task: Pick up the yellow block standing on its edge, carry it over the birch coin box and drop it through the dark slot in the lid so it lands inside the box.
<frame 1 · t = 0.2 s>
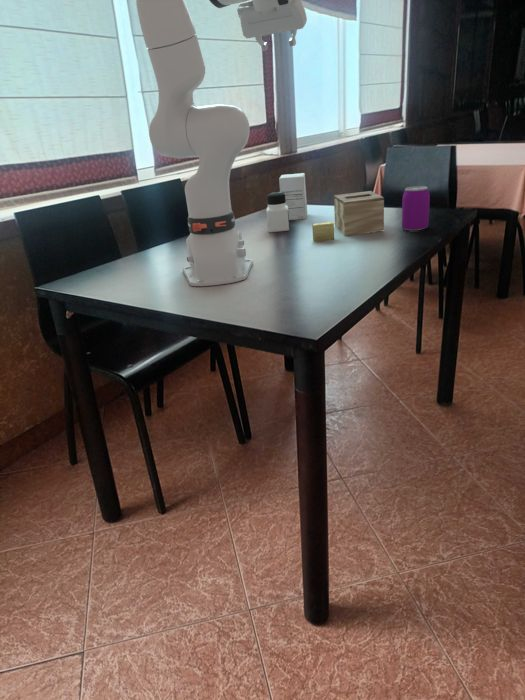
hand: (279, 47, 154), 54 cm above the table, tool tilted 30°, fingers open, 8 cm apart
yellow block: (323, 240, 148), on the table
supplement box: (295, 218, 183), on the table
medicine bottle: (279, 230, 168), on the table
beverage can: (415, 229, 149), on the table
coin box: (358, 228, 157), on the table
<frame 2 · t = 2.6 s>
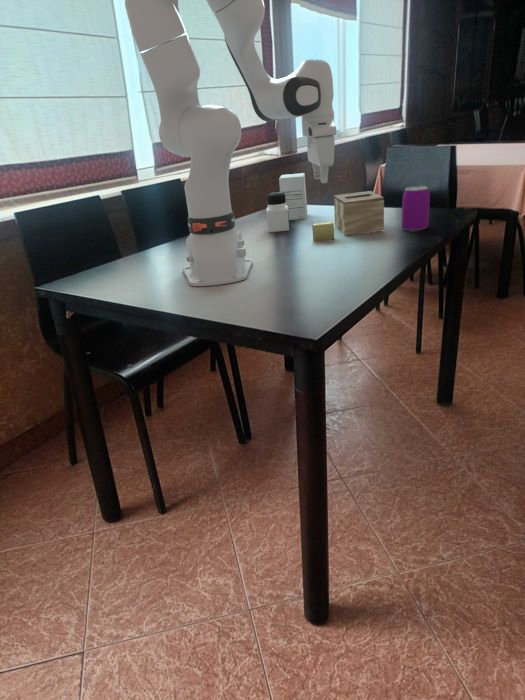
hand: (320, 180, 141), 17 cm above the table, tool pointing down, fingers open, 8 cm apart
nothing on the table moved.
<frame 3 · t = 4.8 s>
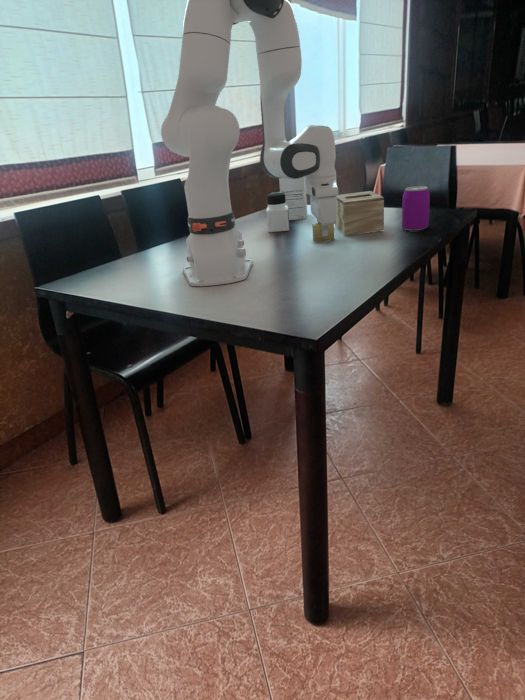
hand: (323, 234, 147), 2 cm above the table, tool pointing down, fingers closed on yellow block, 2 cm apart
yellow block: (323, 240, 148), on the table, touching gripper
everything else where it was.
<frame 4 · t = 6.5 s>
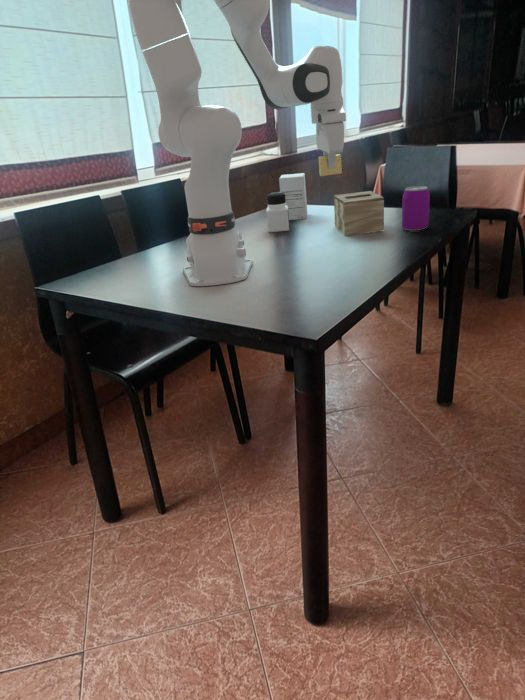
hand: (330, 167, 141), 20 cm above the table, tool pointing down, fingers closed on yellow block, 2 cm apart
yellow block: (330, 174, 142), point 18 cm above the table, touching gripper
everything else where it was.
when the fingers open (14 cm above the table, at t = 8.1 s): yellow block drops 12 cm, resting in coin box.
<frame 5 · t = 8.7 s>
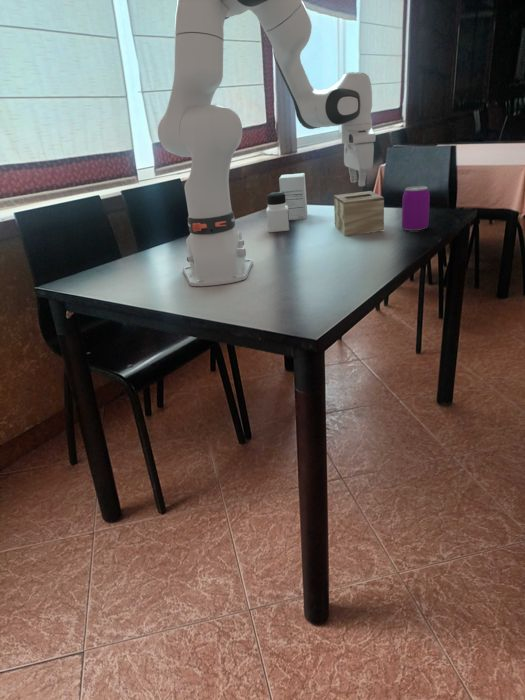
hand: (357, 184, 151), 14 cm above the table, tool pointing down, fingers open, 8 cm apart
yellow block: (358, 229, 156), resting in coin box
everything else where it was.
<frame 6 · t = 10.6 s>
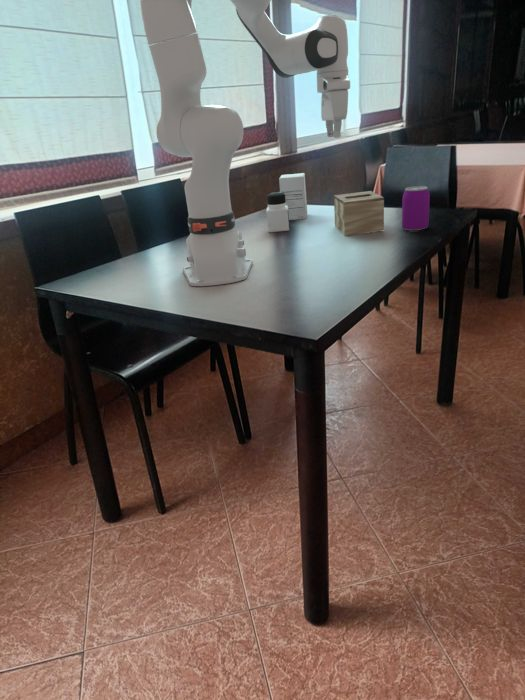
hand: (333, 137, 146), 27 cm above the table, tool pointing down, fingers open, 8 cm apart
nothing on the table moved.
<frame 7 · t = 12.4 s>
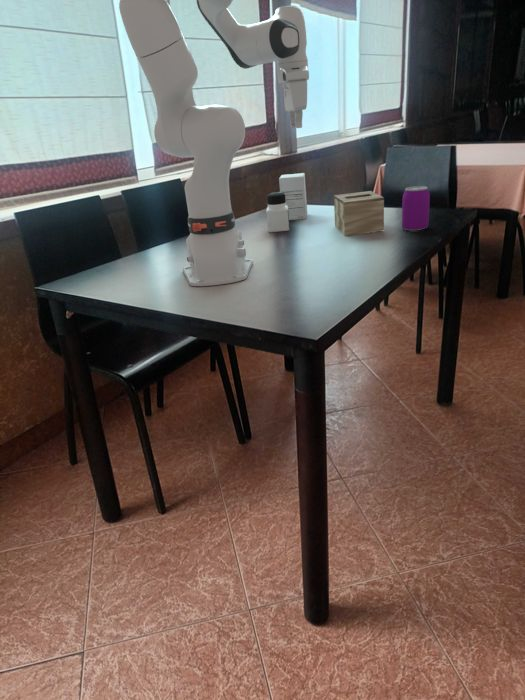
hand: (296, 127, 147), 31 cm above the table, tool pointing down, fingers open, 8 cm apart
nothing on the table moved.
at the end: yellow block inside the target area on the coin box (0.2 cm from its centre), point 0.0 cm above the coin box's base; the gripper is holding nothing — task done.
